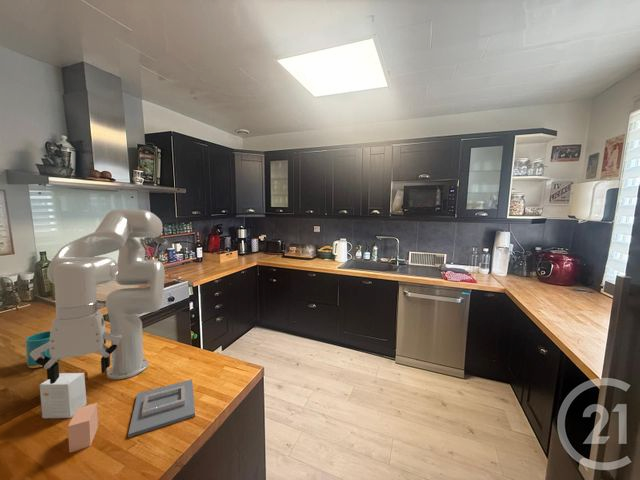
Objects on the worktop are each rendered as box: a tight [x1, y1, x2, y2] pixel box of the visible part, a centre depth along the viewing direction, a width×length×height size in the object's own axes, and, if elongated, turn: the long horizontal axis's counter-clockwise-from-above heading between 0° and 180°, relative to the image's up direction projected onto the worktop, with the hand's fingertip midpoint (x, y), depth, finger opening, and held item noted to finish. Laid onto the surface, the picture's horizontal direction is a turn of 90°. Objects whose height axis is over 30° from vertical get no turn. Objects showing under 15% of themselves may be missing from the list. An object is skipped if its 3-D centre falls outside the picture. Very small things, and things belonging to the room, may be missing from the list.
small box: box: [39, 372, 88, 419], centre depth 76 cm, size 8×6×10 cm
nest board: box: [127, 378, 196, 439], centre depth 79 cm, size 18×16×2 cm
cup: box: [25, 330, 61, 367], centre depth 99 cm, size 9×12×11 cm
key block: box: [67, 402, 99, 453], centre depth 67 cm, size 7×4×7 cm, turn 29°
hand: (80, 375), depth 65 cm, fingers open, 9 cm apart
